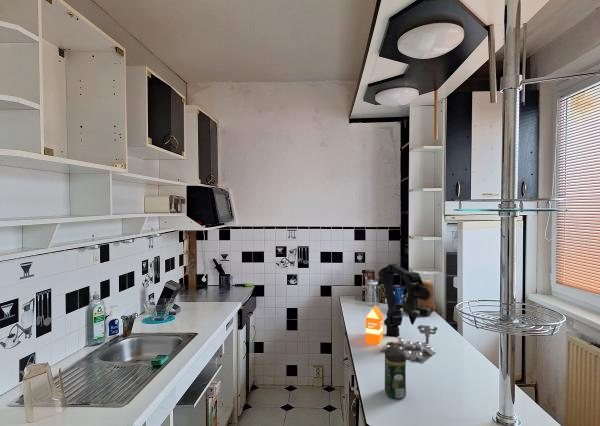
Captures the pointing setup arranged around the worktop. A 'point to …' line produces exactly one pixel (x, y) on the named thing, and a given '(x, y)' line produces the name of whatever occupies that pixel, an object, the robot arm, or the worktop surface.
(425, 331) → the mechanical component
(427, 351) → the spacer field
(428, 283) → the butternut squash
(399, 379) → the coffee jar
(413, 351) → the mat
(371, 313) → the orange juice
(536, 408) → the worktop surface
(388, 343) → the nut
